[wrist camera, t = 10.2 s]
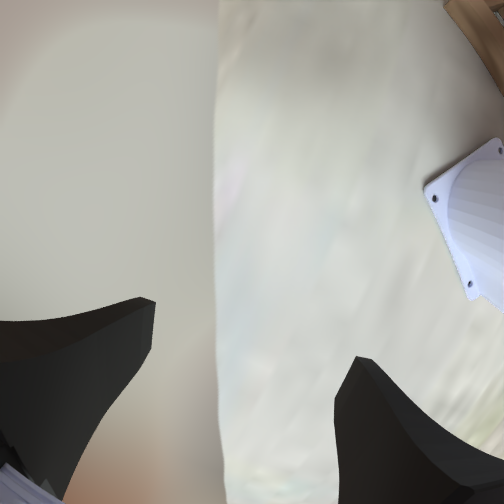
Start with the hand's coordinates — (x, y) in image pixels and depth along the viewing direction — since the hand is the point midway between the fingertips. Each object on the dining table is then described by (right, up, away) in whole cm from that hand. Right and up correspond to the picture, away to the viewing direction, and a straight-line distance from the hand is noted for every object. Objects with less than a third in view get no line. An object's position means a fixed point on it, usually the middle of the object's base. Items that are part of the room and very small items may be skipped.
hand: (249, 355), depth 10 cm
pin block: (+20, +20, +3) cm, 28 cm away
